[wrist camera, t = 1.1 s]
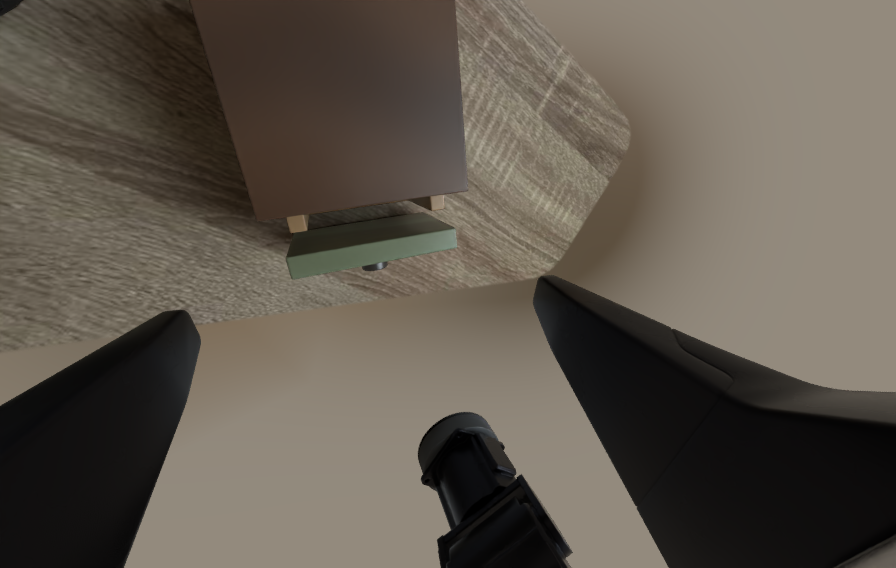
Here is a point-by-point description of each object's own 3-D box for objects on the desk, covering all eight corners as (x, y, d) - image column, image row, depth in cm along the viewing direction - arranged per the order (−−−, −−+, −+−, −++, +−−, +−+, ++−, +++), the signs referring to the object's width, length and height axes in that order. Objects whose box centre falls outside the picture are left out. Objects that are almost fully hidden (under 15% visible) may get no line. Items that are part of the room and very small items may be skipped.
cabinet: (425, 182, 25) (468, 191, 18) (276, 201, 22) (256, 221, 15) (405, 13, 21) (451, -62, 14) (223, 10, 18) (162, -86, 11)
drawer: (427, 243, 26) (459, 267, 20) (302, 266, 23) (297, 301, 17) (408, 86, 22) (441, 59, 16) (256, 93, 19) (229, 64, 14)
